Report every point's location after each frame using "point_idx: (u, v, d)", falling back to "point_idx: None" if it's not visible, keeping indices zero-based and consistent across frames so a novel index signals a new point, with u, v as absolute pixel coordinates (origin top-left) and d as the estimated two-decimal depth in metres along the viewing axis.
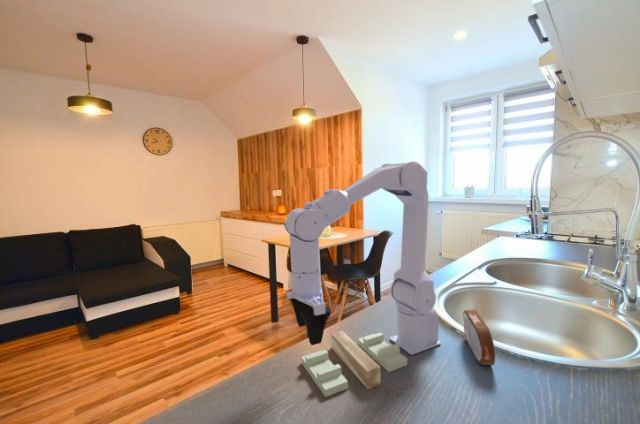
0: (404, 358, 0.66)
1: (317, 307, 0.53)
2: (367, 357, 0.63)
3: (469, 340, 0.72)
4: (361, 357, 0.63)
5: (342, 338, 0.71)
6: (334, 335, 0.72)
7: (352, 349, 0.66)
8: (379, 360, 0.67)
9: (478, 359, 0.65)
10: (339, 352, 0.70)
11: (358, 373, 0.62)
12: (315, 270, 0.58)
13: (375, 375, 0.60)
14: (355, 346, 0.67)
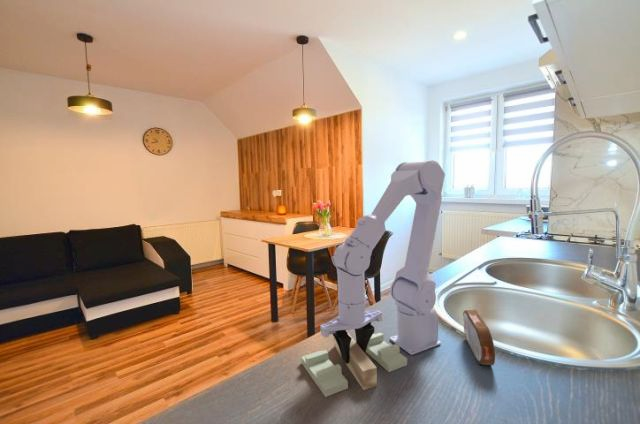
0: (404, 358, 0.66)
1: (321, 328, 0.63)
2: (365, 357, 0.63)
3: (469, 340, 0.72)
4: (359, 357, 0.63)
5: None
6: None
7: (352, 348, 0.66)
8: (379, 360, 0.67)
9: (478, 359, 0.65)
10: None
11: (355, 372, 0.62)
12: (361, 301, 0.63)
13: (371, 375, 0.59)
14: (356, 345, 0.67)
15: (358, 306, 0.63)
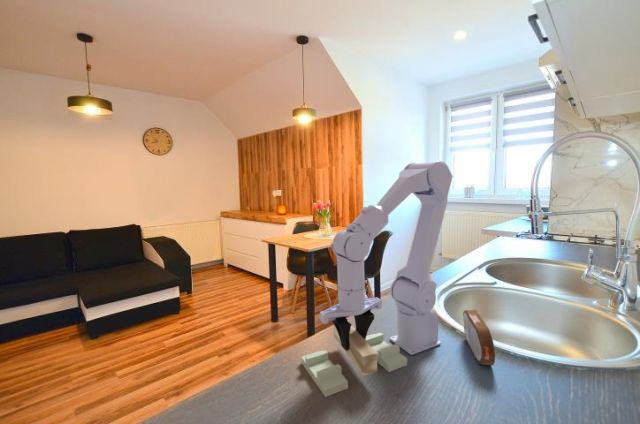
0: (404, 358, 0.66)
1: (320, 314, 0.63)
2: (365, 343, 0.62)
3: (469, 340, 0.72)
4: (359, 343, 0.63)
5: None
6: None
7: (351, 335, 0.66)
8: (379, 360, 0.67)
9: (478, 359, 0.65)
10: None
11: (355, 359, 0.62)
12: (361, 288, 0.63)
13: (371, 361, 0.59)
14: (355, 332, 0.67)
15: (358, 292, 0.62)
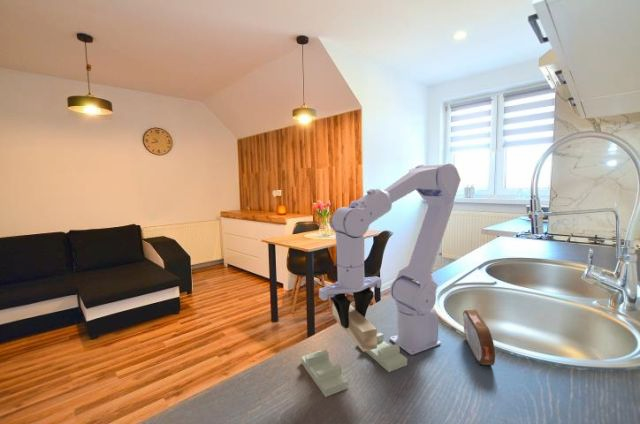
0: (404, 358, 0.66)
1: (319, 291, 0.62)
2: (365, 320, 0.62)
3: (469, 340, 0.72)
4: (358, 320, 0.62)
5: None
6: None
7: (351, 314, 0.65)
8: (379, 360, 0.67)
9: (478, 359, 0.65)
10: (339, 318, 0.69)
11: (354, 336, 0.61)
12: (360, 264, 0.62)
13: (371, 336, 0.58)
14: (355, 311, 0.66)
15: (357, 269, 0.62)
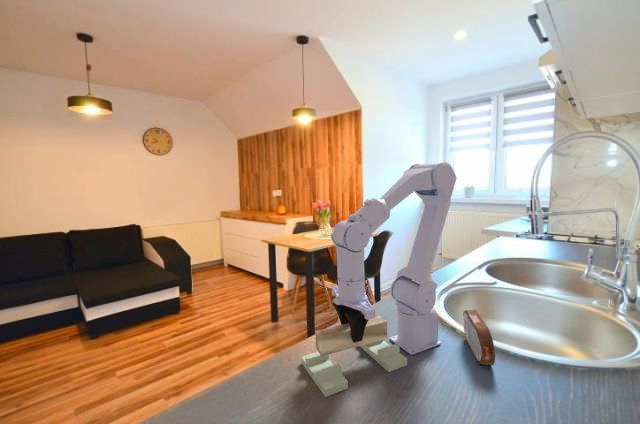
0: (404, 358, 0.66)
1: (369, 312, 0.58)
2: None
3: (469, 340, 0.72)
4: (367, 322, 0.67)
5: (332, 330, 0.64)
6: (325, 335, 0.62)
7: None
8: (379, 360, 0.67)
9: (478, 359, 0.65)
10: (340, 344, 0.63)
11: (373, 336, 0.66)
12: (361, 278, 0.62)
13: None
14: (347, 324, 0.67)
15: None
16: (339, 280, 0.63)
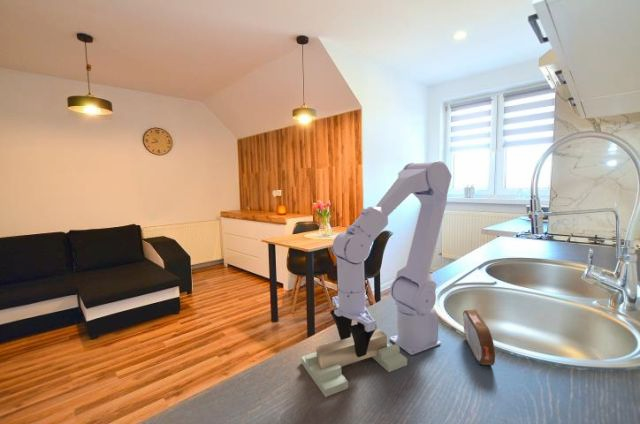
0: (404, 358, 0.66)
1: (369, 324, 0.59)
2: None
3: (469, 340, 0.72)
4: None
5: (333, 346, 0.64)
6: (326, 351, 0.63)
7: None
8: (379, 360, 0.67)
9: (478, 359, 0.65)
10: (341, 360, 0.64)
11: (373, 350, 0.67)
12: (361, 290, 0.63)
13: None
14: (348, 339, 0.67)
15: None
16: (339, 291, 0.64)
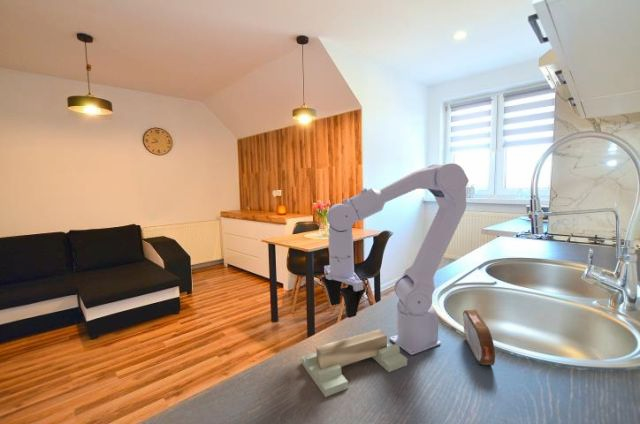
0: (404, 358, 0.66)
1: (357, 284, 0.65)
2: (366, 334, 0.69)
3: (469, 340, 0.72)
4: (367, 337, 0.68)
5: (333, 346, 0.64)
6: (326, 351, 0.63)
7: (354, 341, 0.66)
8: (379, 360, 0.67)
9: (478, 359, 0.65)
10: (341, 360, 0.64)
11: (373, 350, 0.67)
12: (346, 256, 0.68)
13: None
14: (348, 339, 0.67)
15: None
16: (330, 257, 0.70)
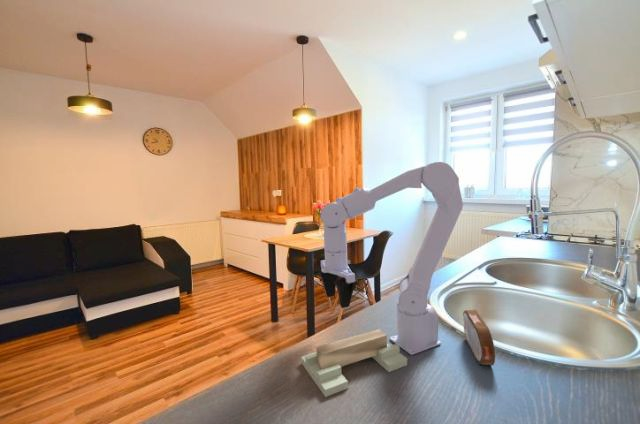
0: (404, 358, 0.66)
1: (349, 277, 0.70)
2: (366, 334, 0.69)
3: (469, 340, 0.72)
4: (367, 337, 0.68)
5: (333, 346, 0.64)
6: (326, 351, 0.63)
7: (354, 341, 0.66)
8: (379, 360, 0.67)
9: (478, 359, 0.65)
10: (341, 360, 0.64)
11: (373, 350, 0.67)
12: (336, 251, 0.73)
13: None
14: (348, 339, 0.67)
15: None
16: (325, 252, 0.75)
